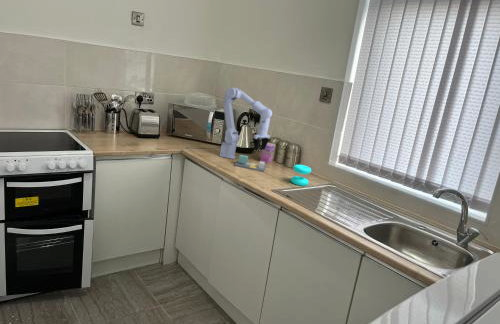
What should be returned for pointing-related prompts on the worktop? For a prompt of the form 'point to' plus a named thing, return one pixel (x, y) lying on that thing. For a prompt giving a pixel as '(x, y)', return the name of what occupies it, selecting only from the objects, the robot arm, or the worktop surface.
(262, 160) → the box
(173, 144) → the worktop surface
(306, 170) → the donuts
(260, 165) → the board
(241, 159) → the sleeve
